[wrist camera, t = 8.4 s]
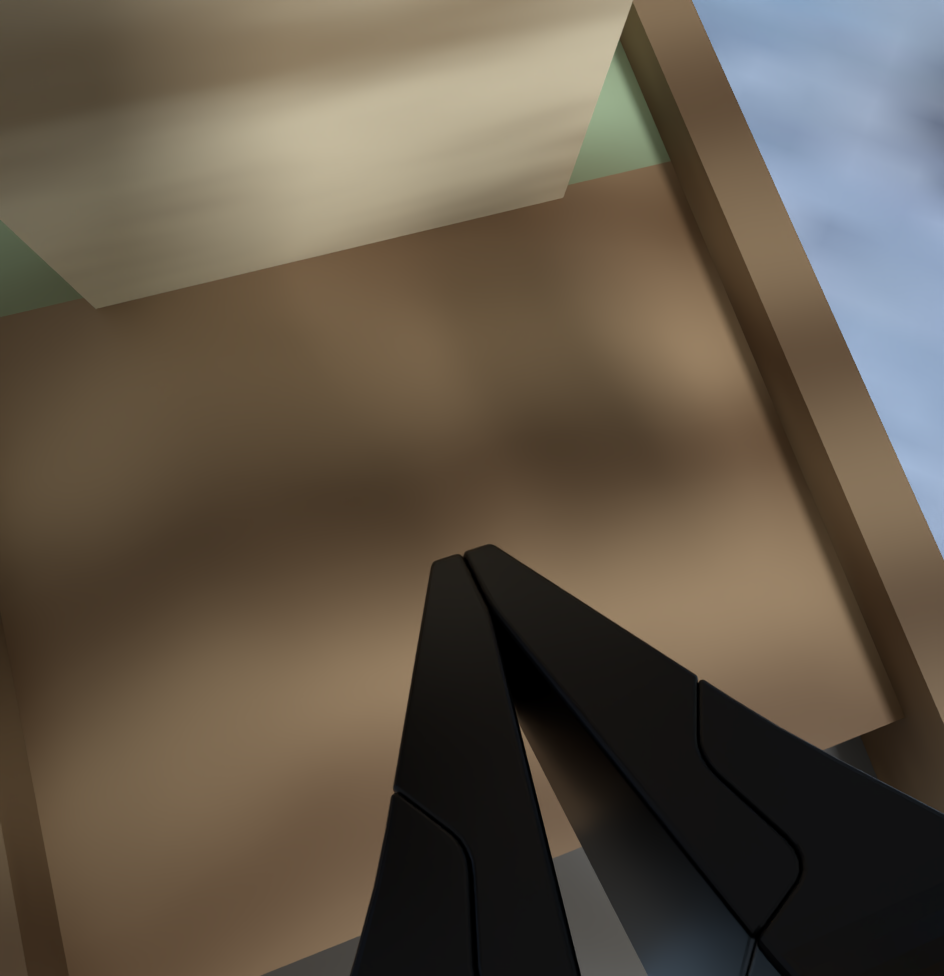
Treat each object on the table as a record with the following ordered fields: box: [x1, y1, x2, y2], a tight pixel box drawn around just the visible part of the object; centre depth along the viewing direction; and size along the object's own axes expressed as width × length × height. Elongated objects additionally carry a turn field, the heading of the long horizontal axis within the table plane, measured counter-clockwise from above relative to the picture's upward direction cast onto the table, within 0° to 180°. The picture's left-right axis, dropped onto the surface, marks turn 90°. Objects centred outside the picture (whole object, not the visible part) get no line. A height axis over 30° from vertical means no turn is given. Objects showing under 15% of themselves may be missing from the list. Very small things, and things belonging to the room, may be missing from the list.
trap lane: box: [0, 0, 944, 976], centre depth 14 cm, size 36×20×4 cm, turn 18°
